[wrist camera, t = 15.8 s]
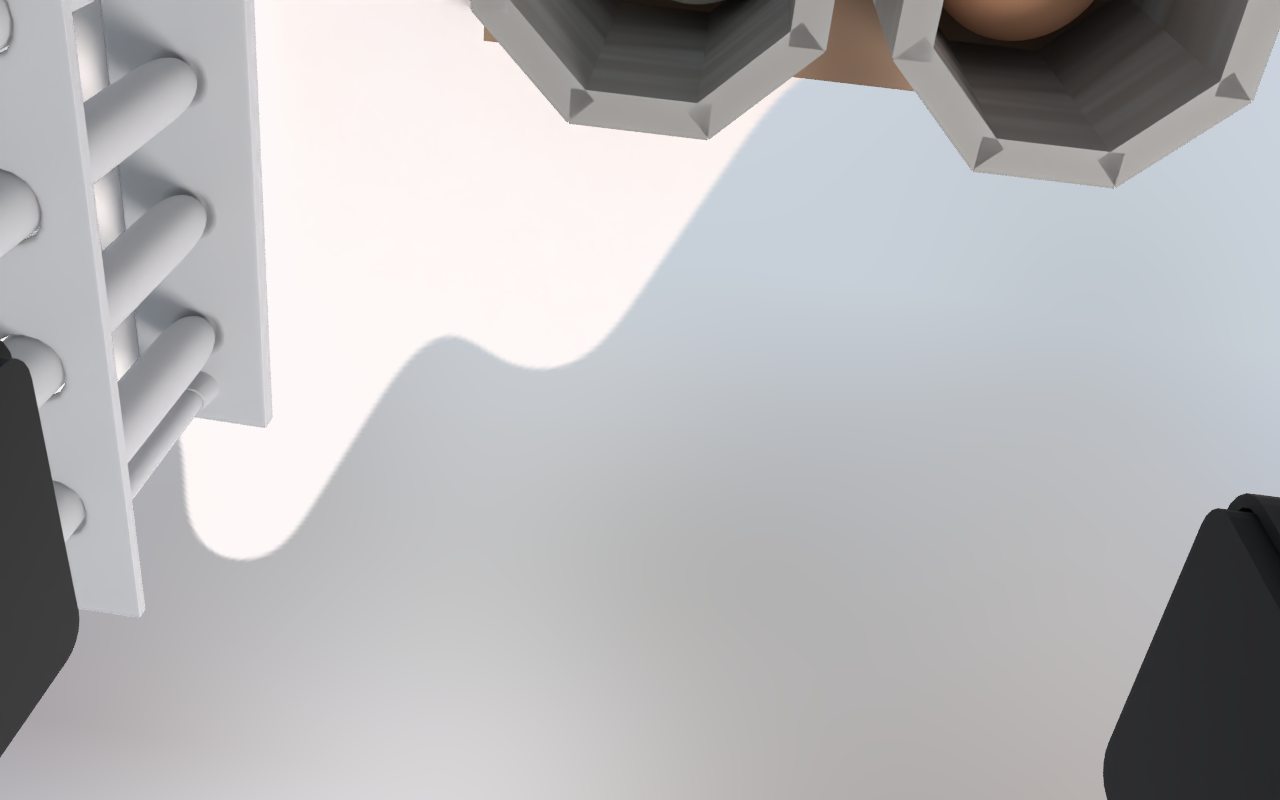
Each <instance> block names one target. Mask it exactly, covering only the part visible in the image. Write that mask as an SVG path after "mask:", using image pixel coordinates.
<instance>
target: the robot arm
mask: <svg viewBox="0 0 1280 800" xmlns="http://www.w3.org/2000/svg"><path fill="white" fill-rule="evenodd" d="M78 629H79V612H78V606H77V601H76V596H75V591H74V586H73V581H72V576H71V571H70V566H69V561H68V556H67V551H66V546H65V541H64V536H63V531H62V526H61V521H60V516H59V511H58V506H57V501H56V496H55V491H54V486H53V481H52V476H51V471H50V466H49V461H48V456H47V451H46V446H45V441H44V436H43V431H42V426H41V421H40V416H39V411H38V406H37V401H36V396H35V391H34V386H33V381H32V377H31V374H30V370H29V368H28V367H27V365H26V364H25V363H24V362H23V361H21V360H19V359H15V358H12V356H11V353H10V351H9V349H8V348H7V347H6V345H5V344H4V342H2V341H0V757H1V755H2V754H3V752H4V751H5V750H6V748H7V747H8V745H9V744H10V742H11V741H12V739H13V738H14V737H15V735H16V734H17V732H18V731H19V729H20V728H21V727H22V725H23V723H24V722H25V721H26V719H27V718H28V716H29V715H30V713H31V712H32V711H33V709H34V708H35V706H36V705H37V703H38V702H39V700H40V699H41V698H42V696H43V695H44V693H45V692H46V690H47V689H48V687H49V686H50V684H51V683H52V682H53V680H54V679H55V677H56V676H57V674H58V673H59V671H60V670H61V669H62V667H63V666H64V664H65V663H66V661H67V660H68V658H69V656H70V654H71V653H72V650H73V648H74V645H75V642H76V639H77V634H78ZM1103 777H1104V787H1105V792H1106V796H1107V800H1280V498H1279V497H1272V496H1264V495H1256V494H1247V493H1246V494H1243V495H1240V496H1238V497H1237V498H1236V499H1235V500H1234V501H1233V502H1232V503H1231V504H1230V505H1229V507H1228V509H1227V510H1226V509H1219V508H1218V509H1214V510H1212V511H1211V512H1210V513H1209V514H1208V515H1207V516H1206V517H1205V519H1204V521H1203V523H1202V524H1201V527H1200V529H1199V531H1198V534H1197V536H1196V539H1195V541H1194V543H1193V546H1192V548H1191V550H1190V553H1189V555H1188V557H1187V560H1186V562H1185V564H1184V567H1183V569H1182V572H1181V574H1180V576H1179V579H1178V581H1177V583H1176V586H1175V588H1174V590H1173V593H1172V595H1171V597H1170V600H1169V602H1168V604H1167V607H1166V609H1165V611H1164V614H1163V616H1162V618H1161V621H1160V623H1159V626H1158V628H1157V630H1156V633H1155V635H1154V637H1153V640H1152V642H1151V644H1150V647H1149V649H1148V651H1147V654H1146V656H1145V658H1144V661H1143V663H1142V665H1141V668H1140V670H1139V673H1138V675H1137V677H1136V680H1135V682H1134V684H1133V687H1132V689H1131V692H1130V694H1129V696H1128V698H1127V701H1126V703H1125V705H1124V708H1123V710H1122V713H1121V715H1120V718H1119V720H1118V722H1117V724H1116V727H1115V729H1114V731H1113V734H1112V736H1111V738H1110V741H1109V743H1108V746H1107V749H1106V753H1105V759H1104V769H1103Z"/></svg>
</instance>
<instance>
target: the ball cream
mask: <svg viewBox="0 0 1280 800" xmlns="http://www.w3.org/2000/svg"><path fill="white" fill-rule="evenodd" d="M673 1H677V2H681V3H686V4H709V3H715V2H719V1H722V0H673Z"/></svg>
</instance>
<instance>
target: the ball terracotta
mask: <svg viewBox="0 0 1280 800" xmlns="http://www.w3.org/2000/svg"><path fill="white" fill-rule="evenodd" d="M1093 1H1094V0H944V1H943V8H944V9H945V10H946V11H947V13H948V14H949V15H950V16H951V17H952V18H953V19H955V20H956V21H957V22H958V23H960V24H961V25H962V26H964V27H965V28H967V29H969V30H970V31H972V32H974V33H976V34H979V35H981V36H984V37H987V38H992V39H996V40H1004V41H1022V40H1028V39H1034V38H1037V37H1041V36H1044V35H1047V34H1049V33H1052V32H1054V31H1056V30H1058V29H1060V28H1062V27H1063V26H1065V25H1067V24H1068V23H1070V22H1071V21H1073V20H1074V19H1075V18H1077V17H1078V16H1079V15H1080V14H1081V13H1082V12H1083V11H1084V10H1085V9H1087V8H1088V6H1089V5H1090V4H1091V3H1092V2H1093Z"/></svg>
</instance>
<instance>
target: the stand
mask: <svg viewBox="0 0 1280 800" xmlns="http://www.w3.org/2000/svg"><path fill="white" fill-rule="evenodd" d="M943 1H944V0H722V1H719V2H715V3H709V4H686V3H681V2H677V1H673V0H471V9H473V10H472V12H473V13H474V14H475V16H476V17H477V18H478V19H479V20H480V21H481V23H482V24H483V25H484V41H492V42H499V44H500V45H501V46H502V47H503V48H504V49H505V51H506V52H507V53H508V54H509V55H510V56H511V58H512V59H513V60H514V61H515V62H516V63H517V65H518V66H519V67H520V68H521V69H522V70H523V72H524V73H525V74H526V75H527V76H528V77H529V79H530V80H531V81H532V82H533V83H534V84H535V86H536V87H537V88H538V89H539V90H540V91H541V93H542V94H543V95H544V96H545V97H546V98H547V100H548V101H549V102H550V103H551V104H552V105H553V107H554V108H555V109H556V110H557V111H558V112H559V114H560V115H561V116H562V117H563V118H564V119H565V121H566V122H568V121H569V124H576V125H585V126H593V127H602V128H610V129H618V130H627V131H635V132H644V133H652V134H660V135H669V136H677V137H686V138H694V139H703V140H707V139H710V138H712V137H713V136H714V135H716V134H717V133H718V132H720V131H721V130H722V129H724V128H725V127H726V126H728V125H729V124H730V123H732V122H733V121H734V120H736V119H737V118H738V117H739V116H741V115H742V114H743V113H745V112H746V111H747V110H749V109H750V108H751V107H753V106H754V105H755V104H757V103H758V102H759V101H761V100H762V99H763V98H765V97H766V96H767V95H769V94H770V93H771V92H773V91H774V90H775V89H777V88H778V87H779V86H781V85H782V84H783V83H785V82H786V81H787V80H789V79H790V78H791V77H798V78H806V79H815V80H824V81H832V82H840V83H849V84H857V85H867V86H875V87H884V88H892V89H900V90H908V91H915V92H916V93H917V94H918V96H919V98H920V99H921V100H922V102H923V103H924V105H925V106H926V107H927V109H928V110H929V112H930V113H931V114H932V116H933V117H934V118H935V120H936V121H937V123H938V124H939V126H940V127H941V128H942V130H943V131H944V133H945V134H946V135H947V137H948V138H949V140H950V141H951V142H952V144H953V145H954V147H955V148H956V149H957V151H958V152H959V154H960V155H961V156H962V158H963V159H964V160H965V162H966V163H967V165H968V166H969V167H970V168H971V170H973V172H980V173H989V174H997V175H1006V176H1014V177H1022V178H1031V179H1039V180H1047V181H1056V182H1064V183H1073V184H1081V185H1089V186H1098V187H1106V188H1114V186H1115V187H1118V186H1119V185H1121V184H1122V183H1124V182H1126V181H1127V180H1129V179H1130V178H1132V177H1134V176H1135V175H1137V174H1138V173H1140V172H1142V171H1143V170H1145V169H1146V168H1148V167H1149V166H1151V165H1152V164H1154V163H1156V162H1158V161H1159V160H1161V159H1162V158H1164V157H1165V156H1167V155H1168V154H1170V153H1172V152H1173V151H1175V150H1177V149H1178V148H1180V147H1181V146H1183V145H1185V144H1186V143H1188V142H1189V141H1191V140H1192V139H1194V138H1196V137H1197V136H1199V135H1200V134H1202V133H1204V132H1205V131H1207V130H1208V129H1210V128H1212V127H1213V126H1215V125H1216V124H1218V123H1219V122H1221V121H1223V120H1224V119H1226V118H1227V117H1229V116H1230V115H1232V114H1234V113H1235V112H1237V111H1239V110H1240V109H1242V108H1243V107H1245V106H1246V105H1248V104H1249V103H1251V100H1252V101H1253V100H1254V97H1255V94H1256V92H1257V89H1258V86H1259V84H1260V81H1261V78H1262V75H1263V73H1264V70H1265V67H1266V65H1267V62H1268V59H1269V56H1270V54H1271V51H1272V48H1273V46H1274V43H1275V40H1276V37H1277V35H1278V32H1279V29H1280V0H1094V1H1093V2H1092V3H1091V4H1090V5H1089V6H1088V8H1087V9H1085V10H1084V11H1083V12H1082V13H1081V14H1080V15H1079V16H1078V17H1077V18H1075V19H1074V20H1073V21H1071V22H1070V23H1068V24H1067V25H1065V26H1063V27H1062V28H1060V29H1058V30H1056V31H1054V32H1052V33H1049V34H1047V35H1044V36H1041V37H1037V38H1034V39H1028V40H1022V41H1004V40H996V39H992V38H987V37H984V36H981V35H979V34H976V33H974V32H972V31H970V30H969V29H967V28H965V27H964V26H962V25H961V24H960V23H958V22H957V21H956V20H955V19H953V18H952V17H951V16H950V15H949V14H948V13H947V11H946V10H945V9H944V8H943Z"/></svg>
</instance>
